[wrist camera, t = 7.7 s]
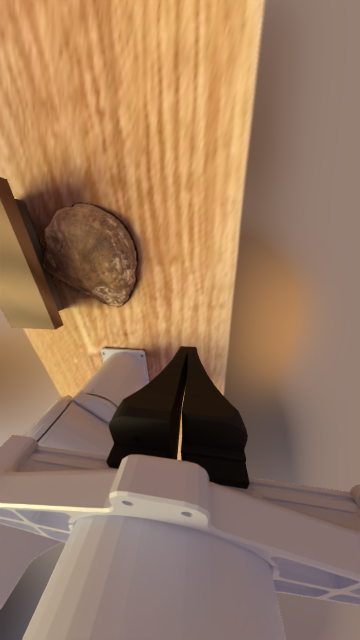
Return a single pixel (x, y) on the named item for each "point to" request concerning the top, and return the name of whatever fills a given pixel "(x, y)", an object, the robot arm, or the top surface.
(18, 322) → the walnut shelf
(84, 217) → the shell
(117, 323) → the top surface
